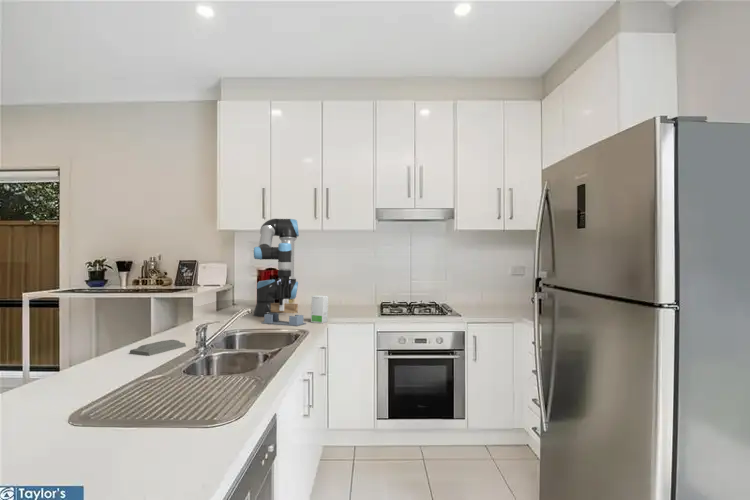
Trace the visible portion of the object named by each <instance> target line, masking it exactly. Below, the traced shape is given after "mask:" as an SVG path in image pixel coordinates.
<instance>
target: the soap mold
mask: <svg viewBox="0 0 750 500" xmlns="http://www.w3.org/2000/svg"><path fill="white" fill-rule="evenodd" d="M185 347H187V344H186V343H185V342H183V341H180V340H177V339H167V340H161V341H156V342H152V343H146V344H143V345H140V346H138V347H137V348H133V349H130V351H129V353H128V354H129V355H136V356H137V355H138V356H148V357H150V356H154V355H158V354H162V353H166V352H170V351H174V350H177V349H181V348H185Z"/></svg>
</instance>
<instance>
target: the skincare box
mask: <svg viewBox="0 0 750 500" xmlns="http://www.w3.org/2000/svg"><path fill="white" fill-rule="evenodd" d="M310 308H311V309H310V310H311V312H310V322H311V323H314V324H315V323H317V324H324V323H328V318H329V317H328V316H329V313H328V312H329V296H327V295H312V296H311V307H310Z"/></svg>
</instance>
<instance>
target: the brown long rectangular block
mask: <svg viewBox="0 0 750 500" xmlns="http://www.w3.org/2000/svg"><path fill="white" fill-rule="evenodd" d="M298 305H299V304H298V303H289V304H287V303H284V311H279V307H280V305H279V302H275V303H271V312H277V313H279V314H280V313H283V314H297V313H298V309H299V307H298Z"/></svg>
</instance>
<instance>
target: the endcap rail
mask: <svg viewBox="0 0 750 500" xmlns="http://www.w3.org/2000/svg"><path fill="white" fill-rule="evenodd" d="M279 315H280V313H278V312H277V313H270V314H264V316H263V317H264V319H263V320H264V321H262V322H261V324H263V325H274V326H275V325H276V326H287V327H288V326H289V327H290V326H291V327H300V326H304V325H306V324H307V323H306V322H304V315H302V314H295V315H289V316H288V317H289V318H288V320H287V321H285V320H279V318H280V316H279Z"/></svg>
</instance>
